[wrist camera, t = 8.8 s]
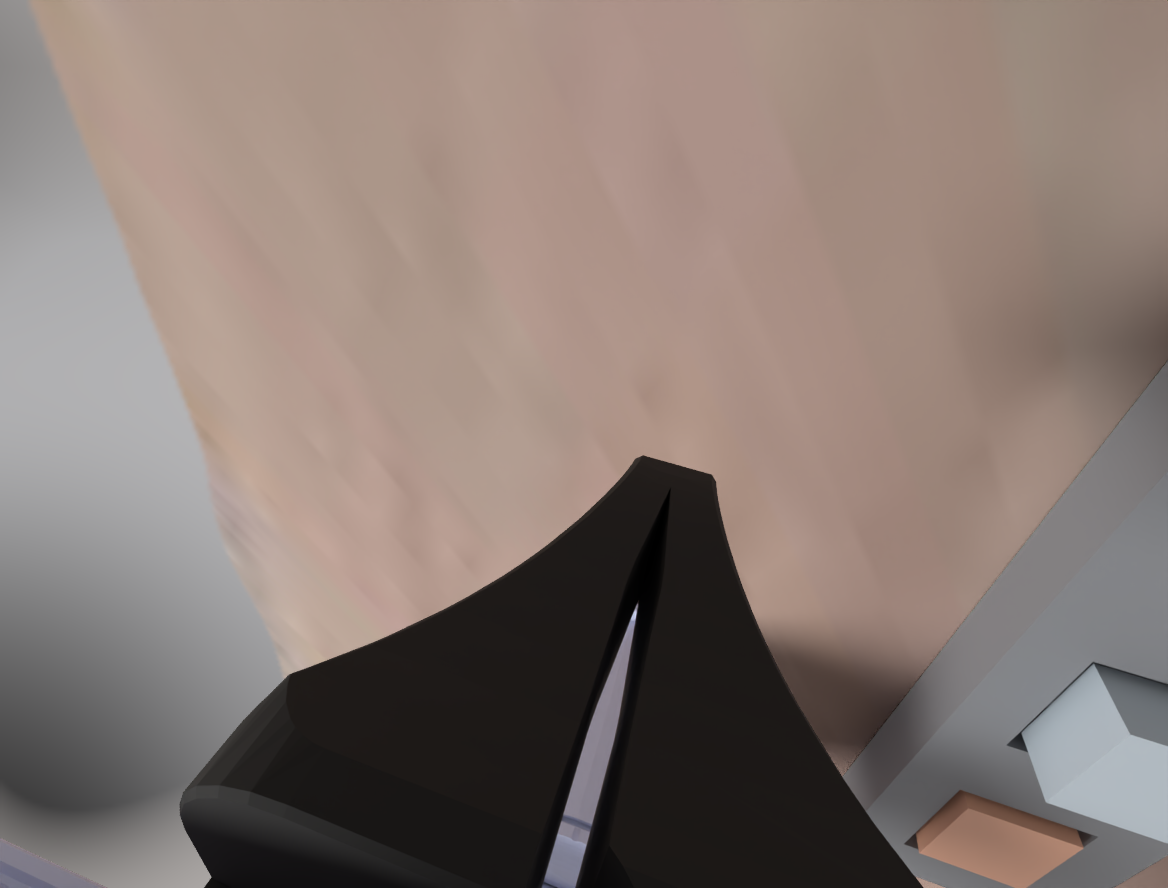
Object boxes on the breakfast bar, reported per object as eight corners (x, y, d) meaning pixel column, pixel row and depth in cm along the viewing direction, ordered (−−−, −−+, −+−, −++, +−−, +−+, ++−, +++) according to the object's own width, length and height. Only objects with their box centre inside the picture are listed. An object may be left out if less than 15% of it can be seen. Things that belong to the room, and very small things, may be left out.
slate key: (1147, 773, 20) (1187, 850, 18) (1021, 732, 20) (1046, 802, 19) (1239, 706, 18) (1295, 786, 16) (1093, 663, 18) (1130, 734, 16)
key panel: (1030, 861, 27) (1049, 926, 25) (831, 791, 28) (834, 846, 26) (1675, 392, 13) (1840, 453, 11) (1216, 298, 14) (1286, 337, 12)
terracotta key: (1004, 827, 26) (1022, 890, 24) (909, 794, 26) (919, 853, 24) (1059, 783, 23) (1083, 848, 21) (953, 748, 24) (968, 808, 22)
